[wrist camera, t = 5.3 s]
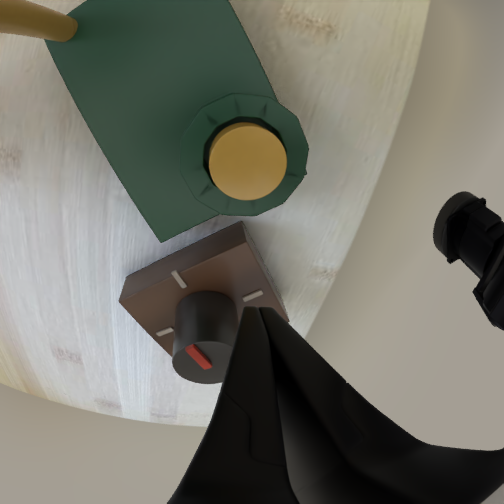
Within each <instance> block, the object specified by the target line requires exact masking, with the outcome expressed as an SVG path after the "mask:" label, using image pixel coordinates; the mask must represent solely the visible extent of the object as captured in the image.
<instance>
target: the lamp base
mask: <svg viewBox="0 0 504 504" xmlns="http://www.w3.org/2000/svg"><path fill="white" fill-rule="evenodd" d="M67 16H70V17H72V18H74V19H76V21H77V23H78V28H77V31H76V33H75V35H74V36H73V37H72V38H71V39H69V40H68V41H66V42H57V41H52V40H47V39H44V40H45V43H46V45H47V47H48V49H49V51H50V54H51V56H52V58H53V60H54V62H55V64H56V66H57V68H58V70H59V72H60V74H61V76H62V78H63V80H64V82H65V84H66V86H67V88H68V90H69V92H70V94H71V96H72V98H73V100H74V101H75V103H76V105H77V107H78V109H79V111H80V113H81V114H82V116H83V118H84V120H85V122H86V123H87V125H88V127H89V129H90V131H91V132H92V134H93V136H94V138H95V139H96V141H97V143H98V145H99V146H100V148H101V150H102V151H103V153H104V155H105V156H106V158H107V160H108V162H109V163H110V165H111V166H112V168H113V170H114V171H115V173H116V175H117V176H118V178H119V180H120V181H121V183H122V184H123V186H124V188H125V189H126V191H127V192H128V194H129V196H130V197H131V199H132V200H133V202H134V203H135V205H136V206H137V208H138V210H139V211H140V213H141V214H142V216H143V217H144V219H145V220H146V222H147V223H148V225H149V226H150V228H151V229H152V231H153V232H154V234H155V235H156V237H157V238H158V240H159V241H160V242H161V243H162V242H164V241H166V240H168V239H170V238H172V237H174V236H176V235H178V234H180V233H182V232H184V231H186V230H188V229H190V228H192V227H194V226H196V225H198V224H200V223H202V222H204V221H207V220H209V219H211V218H213V217H215V216H217V215H219V214H222V215H234V216H257V215H259V214H261V213H263V212H266V211H268V210H270V209H272V208H274V207H277V206H279V205H281V204H283V202H285V201H286V200H287V199H288V197H289V196H290V195H291V194H292V192H293V191H294V190H295V189H296V187H297V186H298V185H299V184H300V182H301V181H302V180H303V178H304V175H307V171H306V163H307V157H308V151H309V147H308V143H307V141H306V138H305V135H304V133H303V130H302V128H301V125H300V123H299V120H298V118H297V116H295V115H294V114H293V113H292V112H290V111H289V110H288V109H286V108H285V107H284V106H282V105H281V104H280V103H279V102H278V100H277V98H276V96H275V93H274V91H273V89H272V87H271V84H270V82H269V80H268V78H267V76H266V74H265V71H264V69H263V67H262V65H261V63H260V61H259V59H258V57H257V55H256V53H255V51H254V49H253V47H252V45H251V43H250V41H249V39H248V37H247V35H246V33H245V31H244V29H243V27H242V25H241V23H240V21H239V19H238V17H237V15H236V14H235V12H234V10H233V8H232V6H231V4H230V3H229V1H228V0H87V1H85V2H84V3H82V4H81V5H79V6H78V7H76V8H75V9H74V10H72V11H71V12H70V13H68V14H67ZM240 122H250V123H255V124H258V125H260V126H262V127H264V128H266V129H267V130H268V131H270V132H271V133H273V134H274V135H275V136H276V137H277V138H278V139H279V140H280V142H281V143H282V145H283V147H284V149H285V152H286V157H287V167H286V172H285V175H284V177H283V179H282V181H281V182H280V184H279V185H278V186H277V187H276V189H274V190H273V191H272V192H271V193H269V194H268V195H266V196H264V197H261V198H259V199H255V200H239V199H235V198H232V197H230V196H228V195H226V194H225V193H223V192H222V191H221V190H220V189H219V188H218V187H217V186H216V185H215V183H214V181H213V179H212V177H211V174H210V169H209V151H210V147H211V144H212V142H213V140H214V138H215V137H216V136H217V135H218V133H219V132H221V131H222V130H223V129H224V128H226V127H228V126H230V125H232V124H235V123H240Z"/></svg>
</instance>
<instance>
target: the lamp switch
mask: <svg viewBox="0 0 504 504" xmlns="http://www.w3.org/2000/svg"><path fill="white" fill-rule="evenodd" d="M286 167H287V157H286V152H285V149H284V147H283V145H282V143H281V142H280V140H279V139H278V138H277V137H276V136H275V135H274V134H273V133H271V132H270V131H268V130H267V129H266V128H264V127H262V126H260V125H258V124H255V123H250V122H240V123H235V124H232V125H230V126H228V127H226V128H224V129H223V130H222V131H221V132H219V133H218V135H217V136H216V137H215V138H214V140H213V142H212V144H211V147H210V151H209V169H210V174H211V177H212V179H213V181H214V183H215V185H216V186H217V187H218V188H219V189H220V190H221V191H222V192H223V193H225V194H226V195H228V196H230V197H232V198H235V199H239V200H255V199H259V198H261V197H264V196H266V195H268V194H269V193H271V192H272V191H273V190H274V189H276V187H277V186H278V185H279V184H280V182H281V181H282V179H283V177H284V175H285V172H286Z"/></svg>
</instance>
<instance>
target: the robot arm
mask: <svg viewBox="0 0 504 504" xmlns="http://www.w3.org/2000/svg"><path fill="white" fill-rule="evenodd" d="M458 259H460V260H461V261H462V262H463V263H464V264H465V265H466V266H467V267H469V269H470V270H472V272H474V273H475V275H476V276H478V278H479V279H480V281H479V283H478V284H477V286H476V288H474V290H473V294H474V295H475V297H476V300H477V301H478V302H479V304H480V306H481V308H482V309H483V311H484V313H485V314H486V316H487V317H488V319H489V321H490V322H491V324H492V325H493V326H494V327H496V326H497V327H498V328H500V329H502V330H504V222H503V221H501V217H499V216H498V215H497V214H495V213H494V212H493V211H491V210H490V209H488V208H487V207H486V199H485V198H483V197H482V198H480V199H478V200H476V201H475V202H473V203H471V204H469V205H468V206H466V207H464V208H462V209H461V210H459V211H457V212H455V213H453V214H452V215H450V216H449V217H448V218H447V262H448V263H449V264H451V263H453V262H455V261H456V260H458ZM167 504H504V448H503V449H500V450H494V451H484V450H470V449H460V448H450V447H442V446H436V445H430V444H427V443H425V442H422V441H420V440H418V439H416V438H415V437H413V436H412V435H410V434H409V433H408V432H406V431H405V430H404V429H402V428H401V427H400V426H398V425H397V424H396V423H394V422H393V421H392V420H391V419H389V418H388V417H387V416H385V415H384V414H383V413H381V412H380V411H379V410H378V409H377V408H375V407H374V406H373V405H372V404H370V403H369V402H368V401H367V400H366V399H365V398H364V397H363V396H362V395H360V394H359V393H358V392H357V391H356V390H355V389H354V388H353V387H352V386H351V385H350V384H349V383H346V380H345V379H344V378H343V377H342V376H340V374H339V373H338V372H336V371H335V370H334V369H333V368H332V367H331V366H330V365H329V364H328V363H327V362H326V361H325V360H324V359H323V358H322V357H321V356H320V355H319V354H318V353H317V352H316V351H315V350H314V349H313V348H312V347H311V346H310V345H309V344H308V343H307V342H306V341H305V340H304V339H303V338H302V337H301V336H300V335H299V334H298V333H297V332H296V331H295V330H294V329H293V328H292V327H291V326H290V325H289V323H288V322H287V321H286V320H285V319H284V318H283V317H282V316H281V315H280V314H279V313H278V312H277V311H276V310H275V309H274V308H272V307H259V308H258V307H256V306H245V307H244V308H243V312H242V315H241V319H240V322H239V326H238V330H237V333H236V337H235V340H234V344H233V347H232V351H231V355H230V358H229V362H228V365H227V369H226V372H225V376H224V379H223V383H222V386H221V390H220V393H219V396H218V400H217V403H216V406H215V409H214V412H213V415H212V418H211V421H210V423H209V425H208V428H207V430H206V432H205V435H204V437H203V439H202V441H201V443H200V445H199V447H198V449H197V451H196V453H195V455H194V457H193V459H192V461H191V463H190V465H189V467H188V469H187V471H186V473H185V475H184V477H183V478H182V480H181V482H180V484H179V486H178V488H177V489H176V491H175V492H174V494H173V495H172V497H171V498H170V500H169V501H168V502H167Z"/></svg>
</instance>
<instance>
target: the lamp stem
mask: <svg viewBox="0 0 504 504" xmlns="http://www.w3.org/2000/svg"><path fill="white" fill-rule="evenodd" d="M77 28H78V23H77V21H76V19H74V18H72V17H70V16H67V15H65V14H62V13H60V12H57V11H54V10H52V9H49V8H46V7H43V6H41V5H38V4H35V3H32V2H29V1H26V0H0V33H7V34H16V35H23V36H30V37H36V38H42V39H47V40H52V41H57V42H66V41H68V40H69V39H71V38H72V37H73V36H74V35H75V33H76V31H77Z"/></svg>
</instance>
